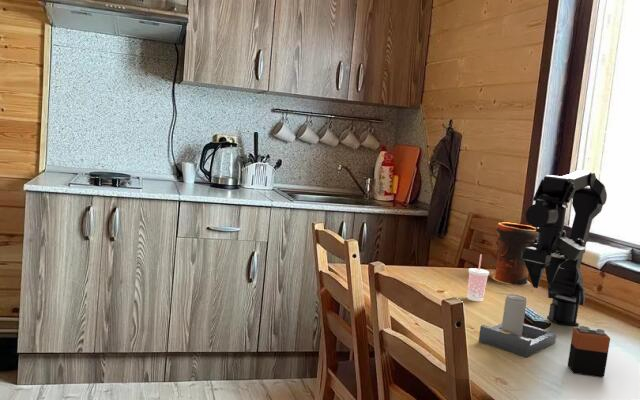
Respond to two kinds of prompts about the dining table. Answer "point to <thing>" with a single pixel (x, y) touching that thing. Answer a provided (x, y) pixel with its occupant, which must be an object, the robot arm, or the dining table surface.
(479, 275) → the beverage cup
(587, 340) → the battery
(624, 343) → the dining table surface
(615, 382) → the dining table surface
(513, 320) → the beverage can
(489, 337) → the grey shallow tray
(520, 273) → the vessel
